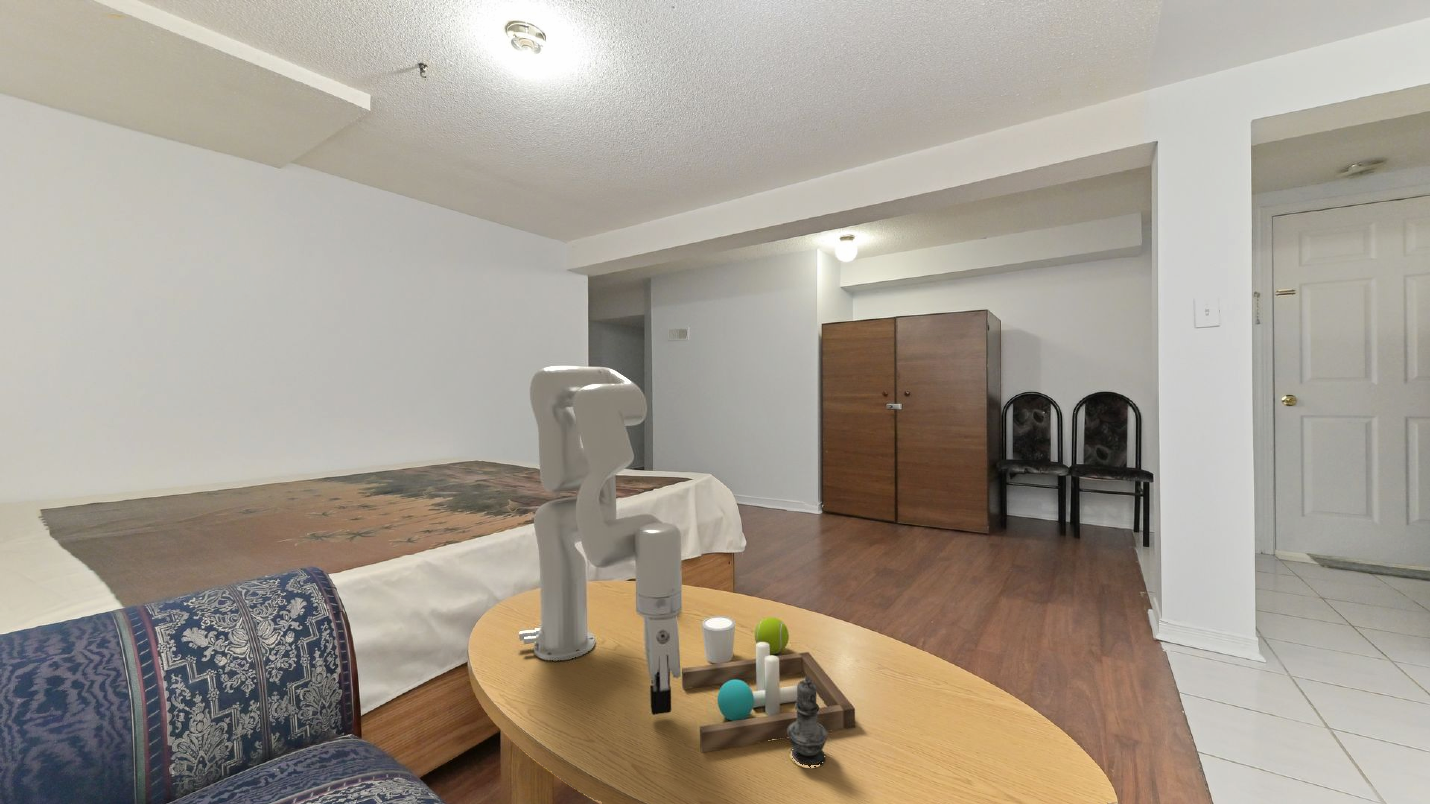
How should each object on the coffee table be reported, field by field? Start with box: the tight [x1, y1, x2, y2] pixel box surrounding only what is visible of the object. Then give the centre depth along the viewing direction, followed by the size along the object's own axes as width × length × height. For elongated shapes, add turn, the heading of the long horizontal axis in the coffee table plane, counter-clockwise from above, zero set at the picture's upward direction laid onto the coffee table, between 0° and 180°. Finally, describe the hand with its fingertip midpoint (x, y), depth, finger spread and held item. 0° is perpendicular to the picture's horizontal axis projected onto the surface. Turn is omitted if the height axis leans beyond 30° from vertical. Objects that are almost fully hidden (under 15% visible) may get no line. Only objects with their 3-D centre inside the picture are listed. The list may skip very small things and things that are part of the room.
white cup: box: [701, 615, 736, 664], centre depth 108 cm, size 7×7×7 cm
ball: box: [717, 680, 754, 722], centre depth 87 cm, size 6×6×6 cm
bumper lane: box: [681, 651, 856, 753], centre depth 91 cm, size 25×19×3 cm
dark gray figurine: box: [787, 676, 829, 768], centre depth 78 cm, size 6×6×12 cm
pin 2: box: [764, 654, 781, 716], centre depth 89 cm, size 2×2×9 cm
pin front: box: [752, 684, 798, 708], centre depth 92 cm, size 2×2×9 cm
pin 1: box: [755, 642, 771, 691], centre depth 94 cm, size 2×2×9 cm
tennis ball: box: [754, 616, 790, 655], centre depth 109 cm, size 7×7×7 cm
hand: (661, 710), depth 87 cm, fingers closed
